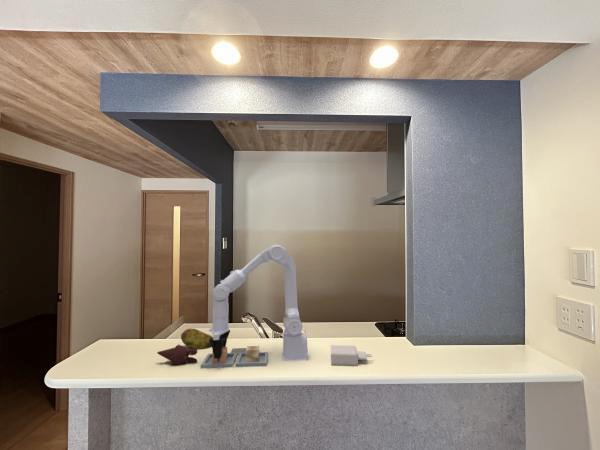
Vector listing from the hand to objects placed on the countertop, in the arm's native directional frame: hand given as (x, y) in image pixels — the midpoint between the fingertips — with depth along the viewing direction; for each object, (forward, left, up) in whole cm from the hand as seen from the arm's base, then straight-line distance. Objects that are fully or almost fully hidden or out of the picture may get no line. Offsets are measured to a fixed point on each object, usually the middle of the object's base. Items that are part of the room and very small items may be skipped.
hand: (219, 354), depth 105 cm
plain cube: (-12, 0, -3) cm, 12 cm away
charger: (-49, +3, -4) cm, 49 cm away
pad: (-6, -10, -3) cm, 12 cm away
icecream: (+15, 0, -3) cm, 16 cm away
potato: (+13, -17, -3) cm, 22 cm away
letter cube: (0, 0, -3) cm, 3 cm away
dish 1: (0, 0, -3) cm, 3 cm away
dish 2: (-12, 0, -3) cm, 12 cm away
